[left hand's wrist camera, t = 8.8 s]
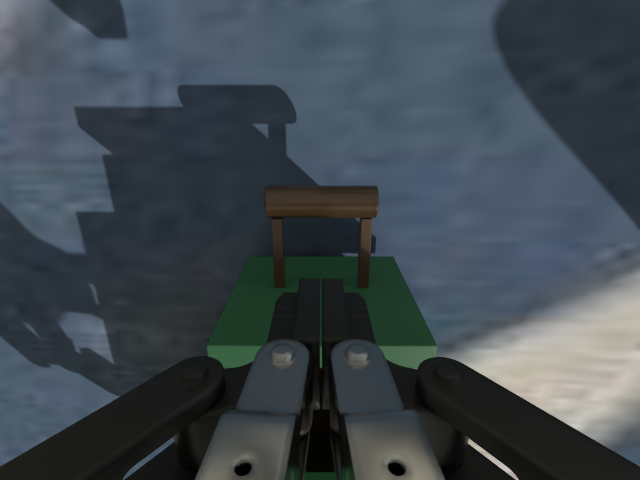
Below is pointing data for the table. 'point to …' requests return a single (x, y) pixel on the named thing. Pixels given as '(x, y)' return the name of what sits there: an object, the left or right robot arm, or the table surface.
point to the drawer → (357, 274)
